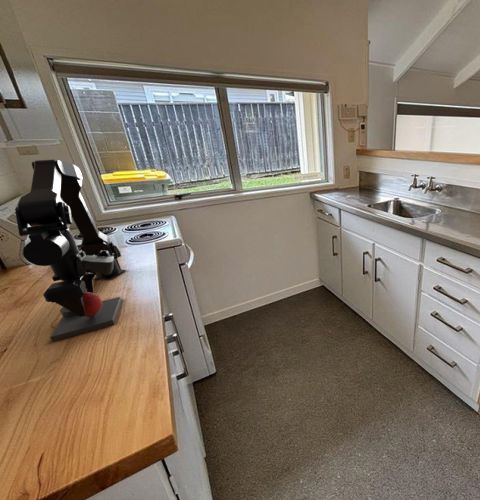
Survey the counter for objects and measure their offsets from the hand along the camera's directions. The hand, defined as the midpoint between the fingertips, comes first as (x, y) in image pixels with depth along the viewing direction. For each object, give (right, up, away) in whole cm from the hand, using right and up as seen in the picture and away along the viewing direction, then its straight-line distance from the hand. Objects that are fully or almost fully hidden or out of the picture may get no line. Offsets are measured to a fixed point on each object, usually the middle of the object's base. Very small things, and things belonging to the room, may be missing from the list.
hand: (87, 307), depth 73 cm
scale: (-2, -4, +3) cm, 5 cm away
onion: (0, -3, +1) cm, 3 cm away
